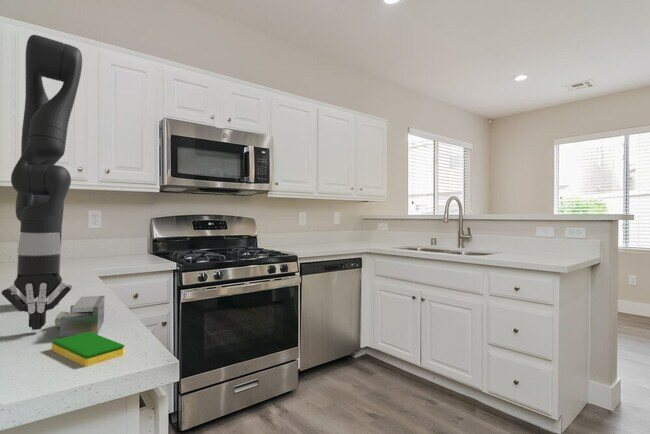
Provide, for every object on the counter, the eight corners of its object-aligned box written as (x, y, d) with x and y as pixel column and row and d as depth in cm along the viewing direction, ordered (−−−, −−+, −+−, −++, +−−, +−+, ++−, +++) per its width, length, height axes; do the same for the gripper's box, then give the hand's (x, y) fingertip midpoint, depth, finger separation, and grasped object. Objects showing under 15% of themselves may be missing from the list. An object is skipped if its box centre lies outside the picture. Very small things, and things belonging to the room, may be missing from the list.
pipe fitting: (77, 337, 82) (97, 326, 89) (77, 320, 82) (97, 310, 89) (43, 335, 82) (65, 324, 89) (43, 319, 82) (65, 309, 89)
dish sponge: (89, 342, 79) (89, 331, 79) (124, 357, 72) (125, 344, 72) (50, 352, 73) (51, 340, 73) (85, 369, 66) (86, 355, 66)
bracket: (70, 323, 90) (71, 297, 90) (103, 320, 93) (104, 295, 93) (59, 338, 79) (60, 308, 79) (97, 335, 82) (98, 306, 82)
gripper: (77, 250, 89) (74, 321, 89) (7, 251, 83) (5, 327, 83) (72, 253, 82) (69, 330, 82) (-5, 254, 76) (-8, 337, 76)
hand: (36, 328), depth 82 cm, fingers closed
